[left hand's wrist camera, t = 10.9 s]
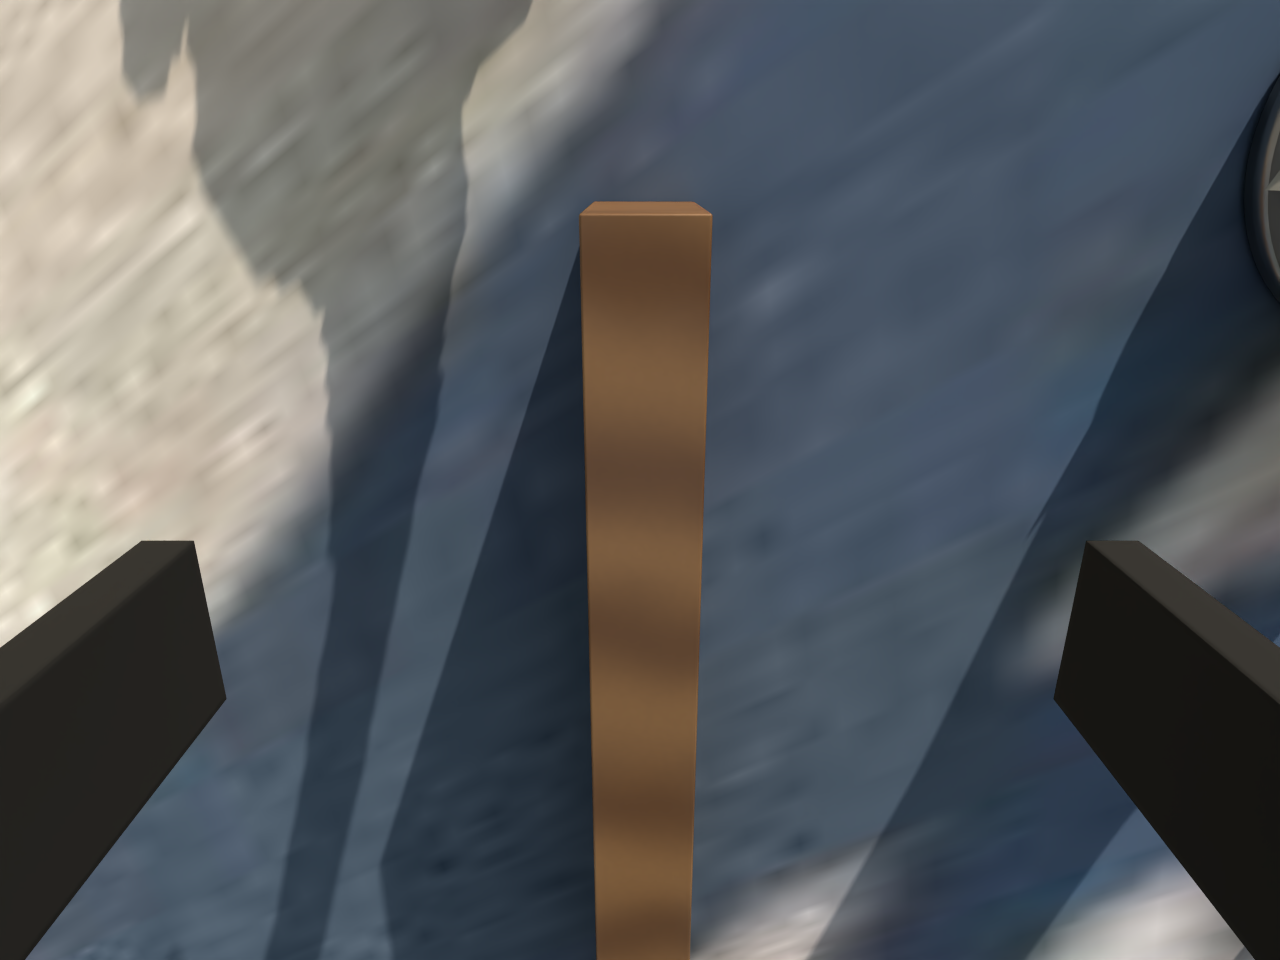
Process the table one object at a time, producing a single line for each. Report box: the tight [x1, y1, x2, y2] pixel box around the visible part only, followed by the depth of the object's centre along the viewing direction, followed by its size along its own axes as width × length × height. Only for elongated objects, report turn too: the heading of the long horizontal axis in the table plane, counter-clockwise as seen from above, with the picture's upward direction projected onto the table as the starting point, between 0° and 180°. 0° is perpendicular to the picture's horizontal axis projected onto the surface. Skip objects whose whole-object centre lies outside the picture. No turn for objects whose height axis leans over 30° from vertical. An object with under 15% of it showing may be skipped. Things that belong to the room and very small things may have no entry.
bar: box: [579, 202, 712, 960], centre depth 41 cm, size 71×4×8 cm, turn 0°
